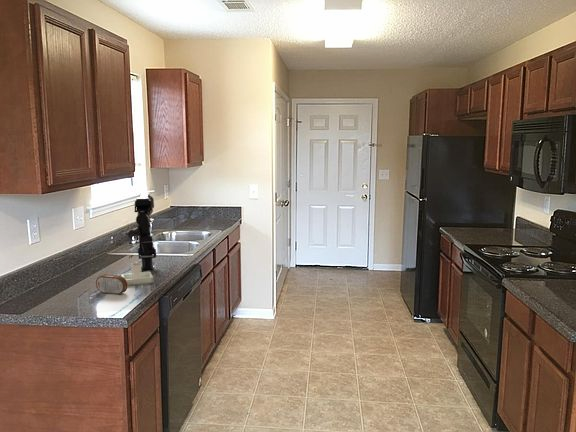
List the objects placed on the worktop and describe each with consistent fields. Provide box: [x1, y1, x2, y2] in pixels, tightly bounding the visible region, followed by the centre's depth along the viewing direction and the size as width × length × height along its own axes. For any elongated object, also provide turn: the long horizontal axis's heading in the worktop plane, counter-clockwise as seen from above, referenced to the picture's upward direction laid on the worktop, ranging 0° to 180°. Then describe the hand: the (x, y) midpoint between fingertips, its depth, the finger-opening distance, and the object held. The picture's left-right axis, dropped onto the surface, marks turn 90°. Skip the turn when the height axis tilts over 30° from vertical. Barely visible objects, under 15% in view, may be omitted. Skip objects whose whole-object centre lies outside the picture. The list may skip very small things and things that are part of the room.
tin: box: [95, 273, 129, 295], centre depth 212 cm, size 15×3×8 cm, turn 74°
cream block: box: [131, 260, 142, 279], centre depth 230 cm, size 4×4×9 cm
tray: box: [120, 271, 154, 287], centre depth 231 cm, size 12×14×3 cm
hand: (144, 252), depth 240 cm, fingers open, 9 cm apart
